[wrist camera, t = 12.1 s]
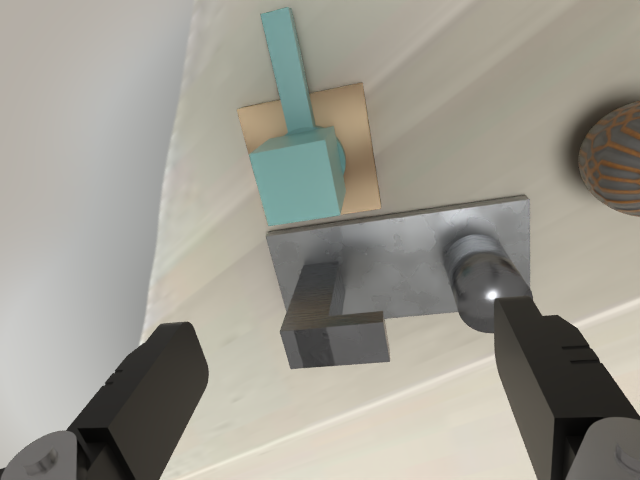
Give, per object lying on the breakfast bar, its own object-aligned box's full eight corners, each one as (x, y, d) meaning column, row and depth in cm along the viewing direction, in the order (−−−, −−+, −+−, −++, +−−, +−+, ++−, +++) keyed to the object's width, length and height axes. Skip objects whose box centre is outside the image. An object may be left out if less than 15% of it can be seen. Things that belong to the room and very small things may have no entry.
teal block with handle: (317, 2, 26) (300, -13, 20) (351, 189, 30) (345, 219, 25) (240, 22, 27) (204, 13, 21) (285, 199, 31) (265, 231, 26)
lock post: (268, 231, 34) (229, 295, 25) (525, 195, 30) (588, 254, 21) (292, 320, 38) (266, 405, 28) (526, 298, 34) (580, 387, 25)
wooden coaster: (241, 107, 30) (236, 109, 29) (362, 82, 28) (361, 83, 27) (271, 219, 34) (268, 225, 33) (380, 203, 32) (381, 208, 31)
